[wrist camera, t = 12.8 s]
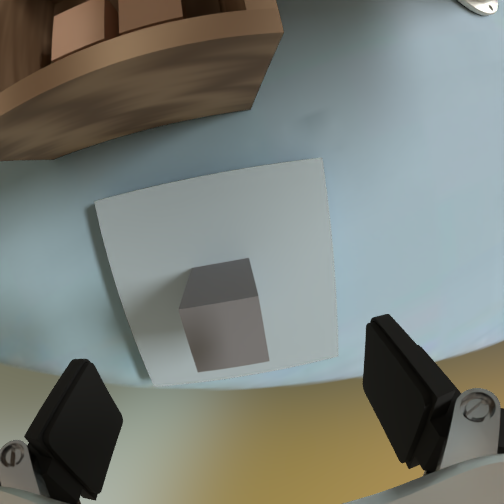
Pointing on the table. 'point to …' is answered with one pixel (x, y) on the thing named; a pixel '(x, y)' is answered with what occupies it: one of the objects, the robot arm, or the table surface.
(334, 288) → the lid
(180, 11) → the clay block
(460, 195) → the table surface
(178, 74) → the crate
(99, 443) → the robot arm
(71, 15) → the clay block
